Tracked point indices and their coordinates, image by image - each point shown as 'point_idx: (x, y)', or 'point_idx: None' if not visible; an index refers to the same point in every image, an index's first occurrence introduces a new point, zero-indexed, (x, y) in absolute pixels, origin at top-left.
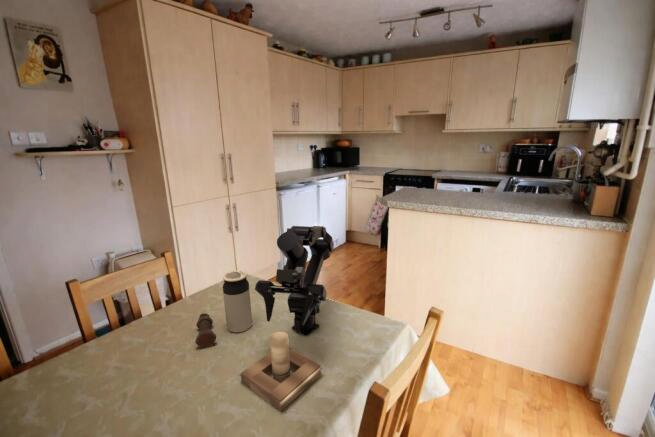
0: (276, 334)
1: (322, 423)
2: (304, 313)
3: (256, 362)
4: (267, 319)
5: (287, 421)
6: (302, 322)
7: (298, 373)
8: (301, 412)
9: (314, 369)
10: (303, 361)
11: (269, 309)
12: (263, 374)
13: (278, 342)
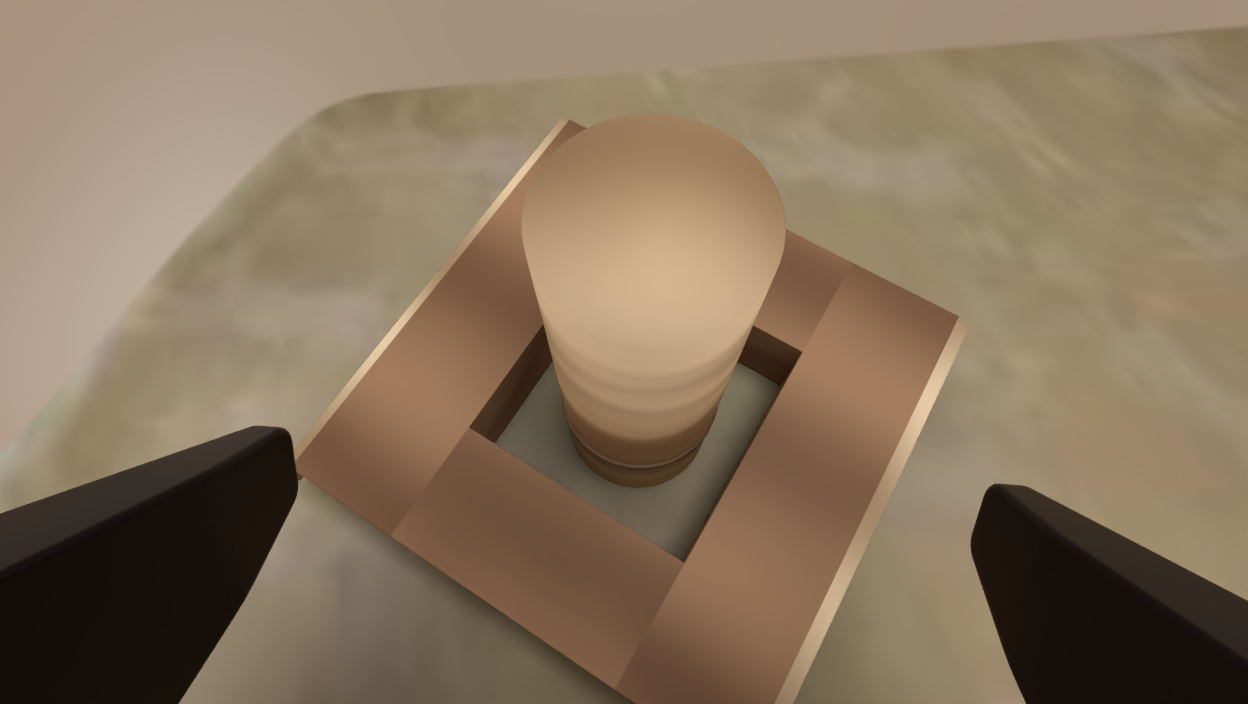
0: (713, 271)
1: (331, 132)
2: (87, 507)
3: (888, 443)
4: (1026, 492)
5: (524, 127)
6: (252, 429)
7: (481, 351)
8: (453, 181)
9: (346, 405)
10: (453, 498)
11: (1166, 611)
12: (765, 314)
13: (629, 118)
